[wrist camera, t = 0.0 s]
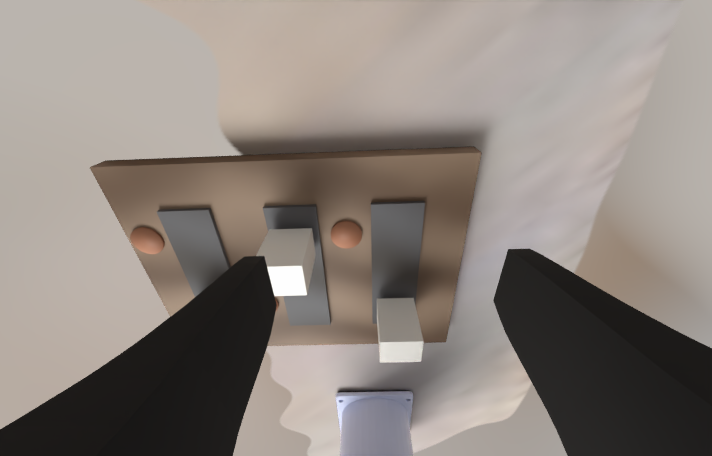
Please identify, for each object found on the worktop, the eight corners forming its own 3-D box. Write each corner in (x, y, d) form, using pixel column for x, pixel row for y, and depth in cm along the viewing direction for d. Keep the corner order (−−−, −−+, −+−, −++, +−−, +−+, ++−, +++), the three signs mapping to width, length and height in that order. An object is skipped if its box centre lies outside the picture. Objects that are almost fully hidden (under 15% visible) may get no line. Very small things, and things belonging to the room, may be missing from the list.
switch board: (442, 330, 25) (446, 345, 24) (193, 335, 26) (185, 350, 24) (473, 146, 17) (483, 154, 15) (105, 160, 17) (85, 169, 16)
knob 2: (411, 317, 21) (420, 361, 18) (376, 318, 21) (379, 362, 18) (413, 297, 20) (423, 341, 17) (376, 298, 20) (380, 342, 17)
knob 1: (315, 254, 18) (307, 295, 15) (275, 256, 18) (258, 296, 15) (311, 228, 17) (301, 265, 14) (269, 229, 17) (250, 267, 14)
